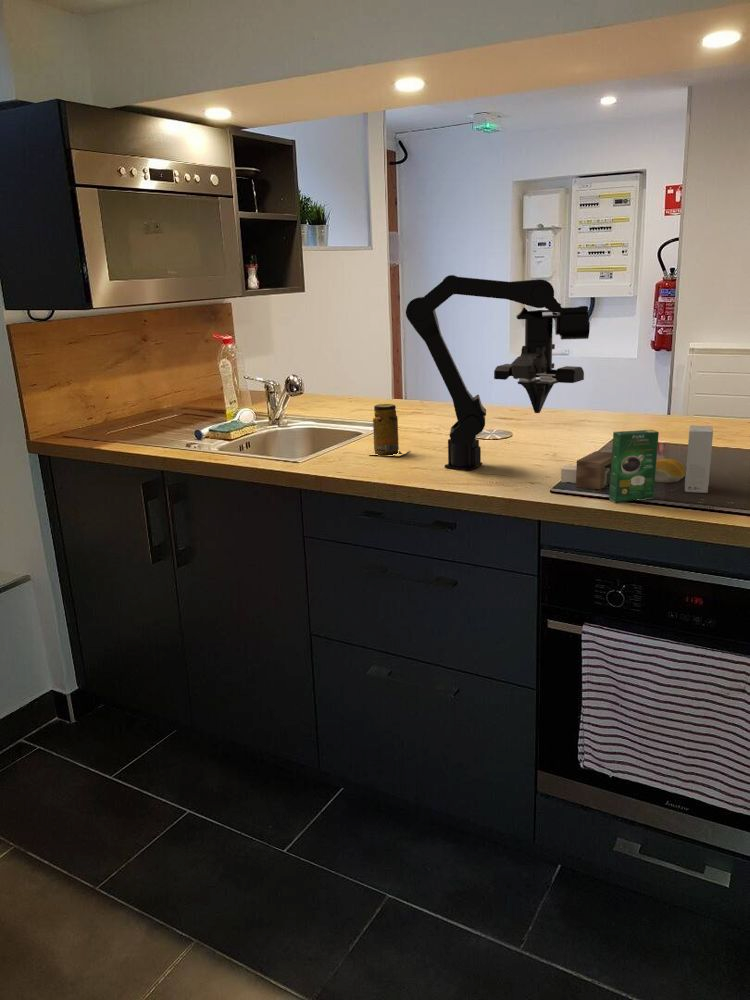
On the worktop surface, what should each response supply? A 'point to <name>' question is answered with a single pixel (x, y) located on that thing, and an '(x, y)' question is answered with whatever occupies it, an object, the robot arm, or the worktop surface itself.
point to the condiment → (385, 429)
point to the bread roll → (669, 471)
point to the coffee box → (633, 465)
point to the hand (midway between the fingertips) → (537, 412)
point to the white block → (570, 474)
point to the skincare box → (698, 459)
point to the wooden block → (592, 470)
